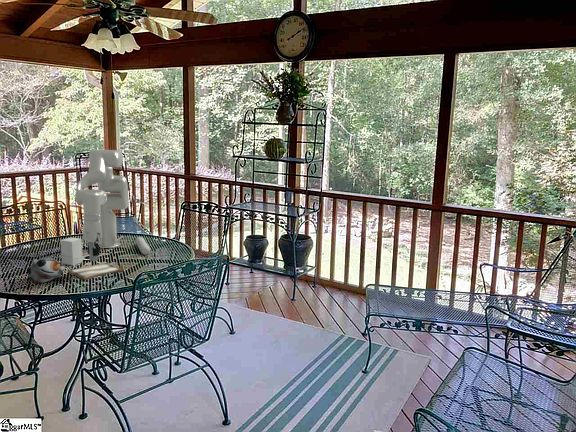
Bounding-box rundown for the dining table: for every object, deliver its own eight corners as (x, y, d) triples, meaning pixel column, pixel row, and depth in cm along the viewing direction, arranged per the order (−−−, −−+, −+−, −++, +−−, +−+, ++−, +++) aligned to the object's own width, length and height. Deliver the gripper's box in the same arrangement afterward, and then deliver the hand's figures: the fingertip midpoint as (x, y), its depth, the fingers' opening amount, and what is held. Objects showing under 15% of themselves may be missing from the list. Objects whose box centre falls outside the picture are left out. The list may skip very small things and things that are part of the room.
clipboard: (68, 272, 236) (68, 269, 236) (106, 264, 251) (106, 261, 251) (85, 280, 226) (85, 276, 226) (123, 271, 241) (123, 267, 241)
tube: (152, 248, 271) (145, 237, 293) (143, 246, 269) (136, 235, 291) (149, 257, 271) (142, 246, 293) (140, 255, 269) (133, 244, 291)
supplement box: (83, 262, 254) (82, 238, 251) (72, 265, 247) (71, 241, 244) (71, 260, 256) (70, 237, 254) (61, 263, 249) (60, 240, 247)
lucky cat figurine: (63, 273, 234) (69, 251, 228) (58, 290, 224) (64, 268, 218) (30, 266, 229) (35, 244, 222) (23, 284, 219) (28, 261, 212)
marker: (87, 259, 236) (86, 235, 234) (95, 258, 239) (94, 233, 237) (92, 261, 233) (91, 236, 231) (100, 259, 237) (99, 235, 234)
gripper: (76, 216, 235) (77, 252, 238) (94, 221, 224) (95, 259, 228) (90, 214, 241) (92, 250, 244) (108, 219, 230) (110, 256, 234)
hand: (93, 254), depth 236 cm, fingers closed on marker, 4 cm apart
